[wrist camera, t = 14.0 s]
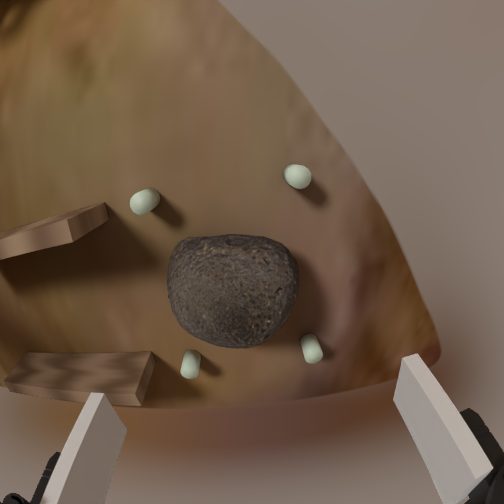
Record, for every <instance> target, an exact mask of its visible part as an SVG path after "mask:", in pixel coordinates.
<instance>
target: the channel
mask: <svg viewBox="0 0 504 504" xmlns="http://www.w3.org/2000/svg"><path fill="white" fill-rule="evenodd" d="M108 220H109V218H108V214H107V210H106V206H105V202H104V203H100V204H96V205H93V206H89V207H85V208H81V209H78V210H74V211H70V212H67V213H63V214H60V215H57V216H53V217H50V218H46V219H43V220H40V221H37V222H34V223H30V224H27V225H24V226H21V227H18V228H15V229H12V230H9V231H6V232H3V233H1V234H0V260H1V259H5V258H9V257H13V256H17V255H21V254H25V253H29V252H33V251H37V250H41V249H46V248H50V247H54V246H58V245H63V244H67V243H72V242H74V241H76V240H77V239H79V238H80V237H82V236H84V235H85V234H87V233H88V232H90V231H92V230H93V229H95V228H97V227H98V226H100V225H102V224H103V223H105V222H107V221H108ZM155 364H156V362H155V360H154V357H153V355H152V352H151V351H146V352H125V353H37V352H27V353H26V354H25V355H24V356H23V358H22V359H21V360H20V361H19V362H18V364H17V365H16V366H15V367H14V369H13V370H12V371H11V372H10V374H9V375H8V376H7V378H6V379H5V380H4V383H5V384H6V386H7V387H8V389H9V390H10V391H11V392H16V393H20V394H26V395H31V396H37V397H43V398H49V399H57V400H64V401H72V402H81V403H86V401H87V399H88V398H89V396H90V394H91V392H92V393H104V394H105V396H106V397H107V399H108V401H109V402H110V404H111V405H124V406H142V403H143V400H144V396H145V393H146V390H147V387H148V384H149V381H150V378H151V375H152V372H153V369H154V367H155Z"/></svg>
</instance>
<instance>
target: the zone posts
mask: <svg viewBox="0 0 504 504" xmlns="http://www.w3.org/2000/svg"><path fill="white" fill-rule="evenodd" d="M283 178H284V180H285V181H286V182H287V183H288V184H290V185H291V186H293V187H294V188H297V189H303V188H305V187H307V186H308V185H309V184H310V182H311V173H310V171H309V169H308V168H306V167H305V166H301V165H297V164H290V165H288V166H287V167H285V169H284V171H283ZM159 202H160V195H159V193H158V191H157V190H155V189H153V188H147V189H145V190H143V191H140V192H138V193H136V194H134V195H133V196H132V198H131V200H130V206H131V209H132V211H133V212H134V213H136V214H138V215H144V214H146V213H148V212H149V211H151V210H152V209H153V208H155V207H156V206H157V205H158V204H159ZM300 344H301V347H302V350H303V354H304V357H305V360H306V361H307V362H308V363H317V362H319V361H320V360H321V359H322V357H323V353H322V350H321V348H320V345H319V342H318V340H317V337H316V336H315V335H314V334H306V335H304V336H303V337H302V338H301V340H300ZM200 361H201V355H200V353H199V352H197V351H195V350H188V351H186V352H185V354H184V359H183V363H182V367H181V374H182V376H183V377H185V378H187V379H195V378H196V377H197V376H198V373H199V367H200Z"/></svg>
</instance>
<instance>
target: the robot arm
mask: <svg viewBox="0 0 504 504" xmlns="http://www.w3.org/2000/svg"><path fill="white" fill-rule="evenodd" d="M393 400H394V402H395V404H396V406H397V408H398V410H399V412H400V414H401V416H402V418H403V420H404V422H405V424H406V426H407V428H408V430H409V431H410V434H411V436H412V438H413V440H414V442H415V444H416V446H417V448H418V450H419V452H420V454H421V456H422V458H423V460H424V463H425V465H426V467H427V469H428V471H429V473H430V475H431V477H432V480H433V482H434V484H435V487H436V489H437V491H438V493H439V496H440V498H441V500H442V502H443V504H456V503H458V502H460V501H462V500H463V499H464V498H465V497H466V496H467V495H468V496H469V498H470V499H469V500H468V501H467V502H466V503H465V504H504V452H503V451H502V449H501V447H500V446H499V444H498V442H497V441H496V439H495V438H494V436H493V435H492V434H491V432H489V429H488V427H487V426H486V425H485V423H484V422H483V420H482V419H481V417H480V416H479V415H478V414H477V413H476V412H474V411H473V410H471V409H470V408H468V409H466V410H464V411H462V412H460V413H459V412H458V410H457V409H456V407H455V406H454V405H453V403H452V402H451V400H450V398H449V397H448V396H447V394H446V393H445V391H444V390H443V389H442V387H441V386H440V384H439V383H438V381H437V380H436V378H435V377H434V376H433V374H432V373H431V372H430V370H429V369H428V367H427V366H426V365H425V363H424V362H423V361H422V359H421V358H420V356H419V355H418V354H414V355H410V356H407V357H404V358H402V362H401V367H400V372H399V377H398V381H397V386H396V390H395V394H394V398H393ZM126 433H127V428H126V427H125V426H124V424H123V423H122V421H121V420H120V418H119V417H118V415H117V413H116V412H115V410H114V409H113V407H112V405H111V404H110V402H109V401H108V399H107V397H106V396H105V394H104V393H92V392H91V394H90V396H89V398H88V399H87V401H86V403H85V405H84V407H83V409H82V411H81V413H80V415H79V417H78V419H77V421H76V423H75V425H74V428H73V429H72V431H71V434H70V436H69V438H68V440H67V442H66V444H65V446H64V449H63V451H62V453H59V452H56V453H55V454H54V455H53V456H52V457H51V458H50V459H49V461H48V463H47V466H46V470H44V473H43V474H42V475H43V477H41V479H40V482H39V484H38V486H37V488H36V491H35V494H34V495H33V498H32V500H31V502H30V503H29V502H27V500H25V499H24V498H23V497H21V496H20V495H19V494H16V493H10V494H9V495H7V496H6V497H5V498H4V500H3V503H1V502H0V504H104V503H105V500H106V496H107V492H108V489H109V486H110V483H111V479H112V476H113V473H114V470H115V466H116V463H117V460H118V457H119V454H120V451H121V447H122V444H123V441H124V439H125V435H126Z"/></svg>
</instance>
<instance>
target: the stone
mask: <svg viewBox="0 0 504 504" xmlns="http://www.w3.org/2000/svg"><path fill="white" fill-rule="evenodd" d="M167 287H168V293H169V294H168V297H169V299H170V303H171V307H172V312H173V314H174V315H175V317H176V319H177V321H178V323H179V324H180V326H181V327H182V328H184V329H185V330H186V331H187V332H188V333H189V334H191V335H193V336H194V337H196V338H199V339H201V340H203V341H206V342H208V343H211V344H214V345H217V346H221V347H227V348H249V347H253V346H256V345H259V344H261V343H263V342H265V341H266V340H267V339H269V338H270V337H271V336H273V335H274V334H275V333H276V332H277V331H278V330H279V329H280V328H281V327H282V326H283V325H284V323H285V322H286V320H287V318H288V316H289V314H290V313H291V311H292V308H293V306H294V303H295V300H296V297H297V293H298V288H299V272H298V266H297V263H296V260H295V259H294V257H293V256H292V254H291V253H290V251H289V250H288V249H287V248H286V247H285V246H284V245H283V244H282V243H279V242H277V241H274V240H272V239H269V238H266V237H261V236H250V235H240V234H227V235H220V236H213V237H189V238H186V239H184V240H182V241H180V242H179V243H178V245H177V246H176V247H175V249H174V251H173V253H172V255H171V257H170V262H169V268H168V276H167Z"/></svg>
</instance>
